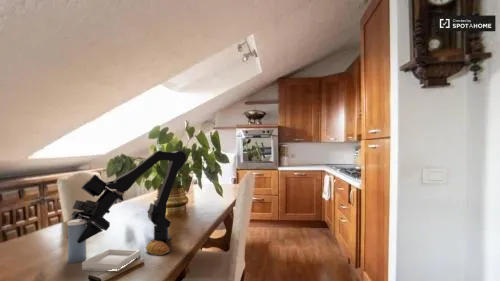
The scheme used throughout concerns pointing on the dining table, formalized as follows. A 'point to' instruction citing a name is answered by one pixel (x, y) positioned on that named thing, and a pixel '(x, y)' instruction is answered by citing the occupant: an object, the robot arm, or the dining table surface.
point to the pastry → (157, 247)
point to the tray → (110, 259)
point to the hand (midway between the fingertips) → (72, 240)
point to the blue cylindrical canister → (74, 232)
